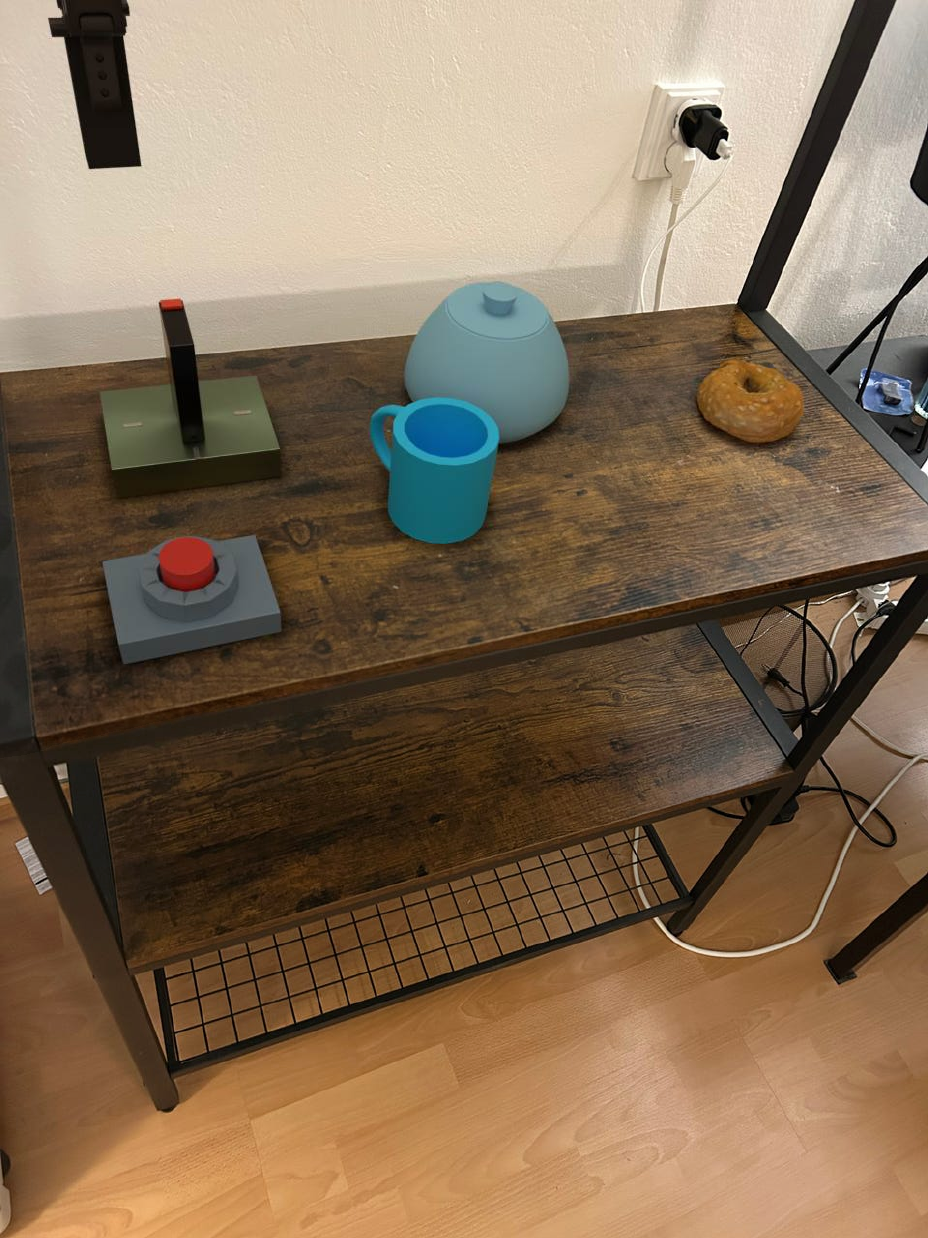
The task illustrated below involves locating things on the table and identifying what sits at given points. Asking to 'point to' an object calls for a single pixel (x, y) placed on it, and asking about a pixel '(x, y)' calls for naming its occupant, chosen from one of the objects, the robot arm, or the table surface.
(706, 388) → the bagel
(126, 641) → the button housing
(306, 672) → the table surface
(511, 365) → the sugar bowl
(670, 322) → the table surface
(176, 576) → the button
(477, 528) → the mug
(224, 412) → the dial panel
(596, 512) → the table surface
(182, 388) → the black slab
